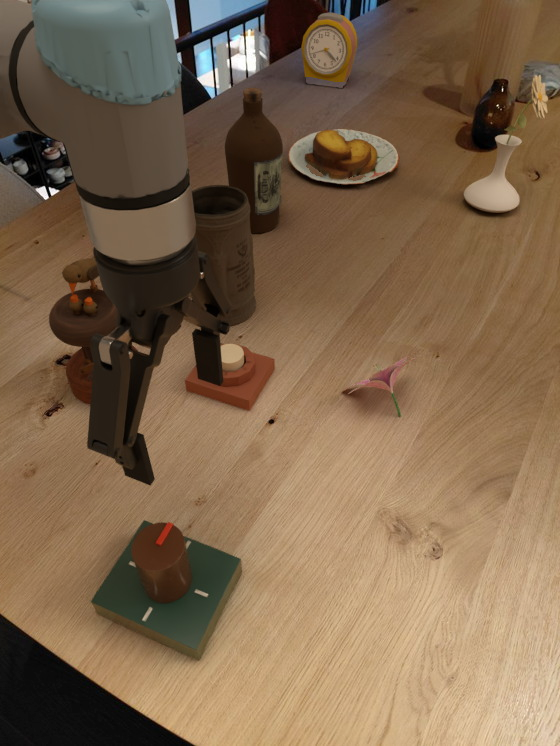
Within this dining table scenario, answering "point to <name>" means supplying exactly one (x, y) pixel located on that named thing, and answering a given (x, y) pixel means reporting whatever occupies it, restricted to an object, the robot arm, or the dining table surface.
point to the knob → (162, 562)
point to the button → (232, 357)
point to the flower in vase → (505, 163)
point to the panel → (178, 618)
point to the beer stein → (227, 245)
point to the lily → (385, 378)
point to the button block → (236, 381)
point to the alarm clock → (329, 48)
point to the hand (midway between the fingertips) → (178, 425)
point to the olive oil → (256, 162)
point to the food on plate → (343, 156)
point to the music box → (82, 323)
